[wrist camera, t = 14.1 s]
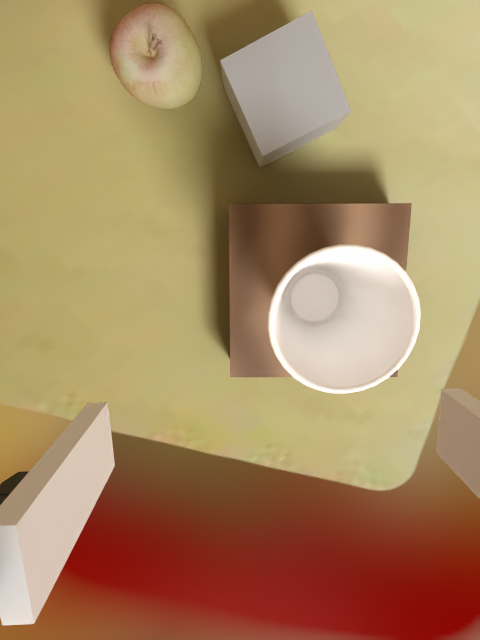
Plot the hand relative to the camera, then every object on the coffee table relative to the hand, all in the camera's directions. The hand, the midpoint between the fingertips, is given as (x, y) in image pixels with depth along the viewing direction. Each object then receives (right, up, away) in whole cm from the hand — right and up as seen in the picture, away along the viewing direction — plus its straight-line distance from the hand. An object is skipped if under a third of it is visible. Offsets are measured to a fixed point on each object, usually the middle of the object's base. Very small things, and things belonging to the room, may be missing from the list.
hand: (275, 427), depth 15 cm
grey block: (+2, +24, +22) cm, 33 cm away
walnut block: (+6, +8, +26) cm, 27 cm away
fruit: (-8, +27, +22) cm, 36 cm away
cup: (+5, +6, +21) cm, 23 cm away
